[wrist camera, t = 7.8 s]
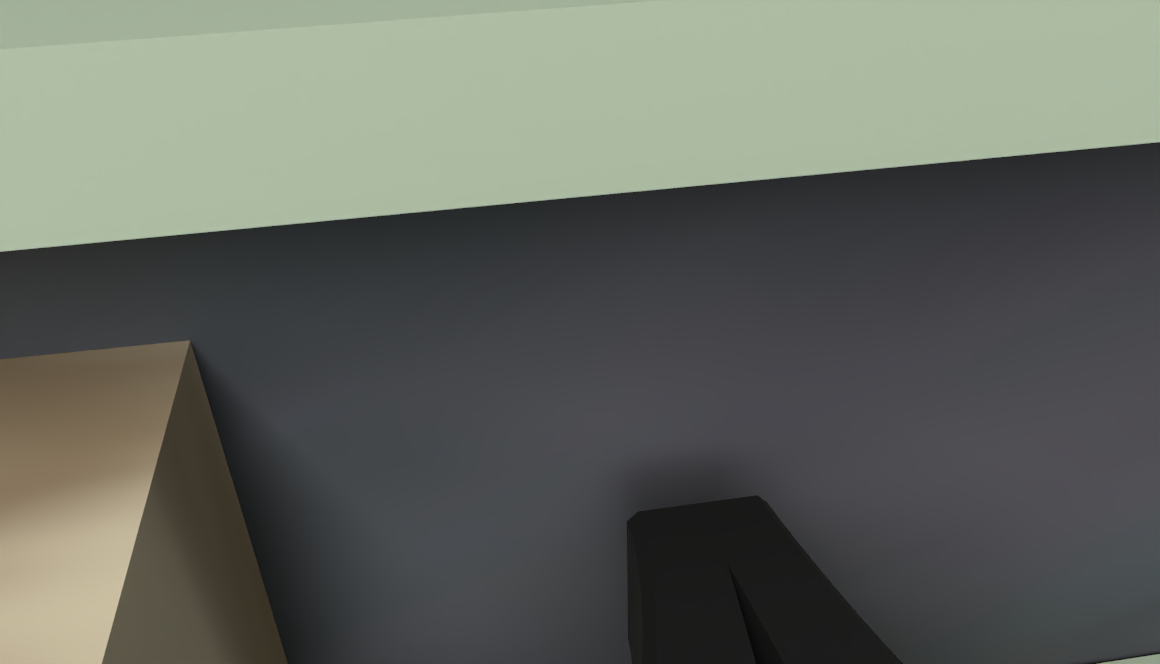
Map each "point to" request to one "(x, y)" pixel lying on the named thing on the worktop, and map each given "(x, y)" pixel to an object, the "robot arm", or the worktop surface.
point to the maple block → (122, 517)
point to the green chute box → (527, 101)
